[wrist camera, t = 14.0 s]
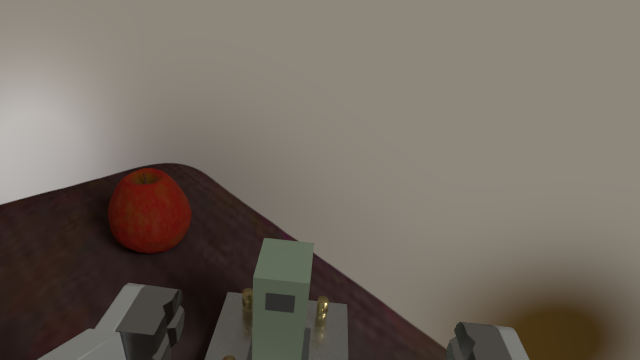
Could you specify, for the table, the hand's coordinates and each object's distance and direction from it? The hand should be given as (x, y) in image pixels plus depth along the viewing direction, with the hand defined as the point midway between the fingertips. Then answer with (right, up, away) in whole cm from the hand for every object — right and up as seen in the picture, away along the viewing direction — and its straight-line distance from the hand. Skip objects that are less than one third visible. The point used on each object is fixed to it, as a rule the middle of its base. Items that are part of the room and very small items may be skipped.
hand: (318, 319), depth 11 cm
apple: (-23, -4, +42) cm, 48 cm away
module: (-4, -13, +27) cm, 30 cm away
